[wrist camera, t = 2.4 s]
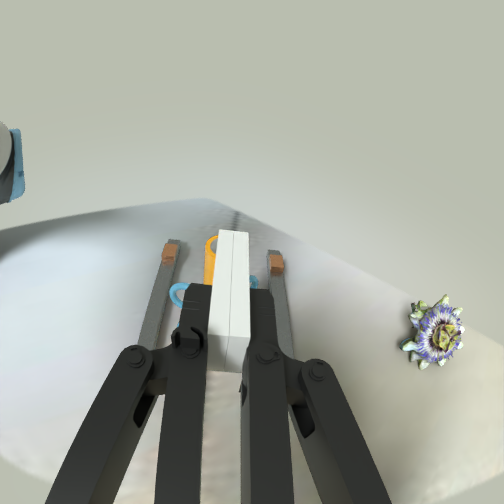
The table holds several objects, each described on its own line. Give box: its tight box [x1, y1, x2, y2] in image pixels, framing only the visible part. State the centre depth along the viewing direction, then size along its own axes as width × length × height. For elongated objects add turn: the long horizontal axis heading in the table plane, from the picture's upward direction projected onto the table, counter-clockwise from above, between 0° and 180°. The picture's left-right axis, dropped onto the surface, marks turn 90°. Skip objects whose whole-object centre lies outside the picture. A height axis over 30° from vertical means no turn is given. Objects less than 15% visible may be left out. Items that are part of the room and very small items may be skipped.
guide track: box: [137, 239, 294, 359], centre depth 41 cm, size 24×19×2 cm
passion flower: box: [400, 295, 465, 370], centre depth 37 cm, size 11×11×12 cm
